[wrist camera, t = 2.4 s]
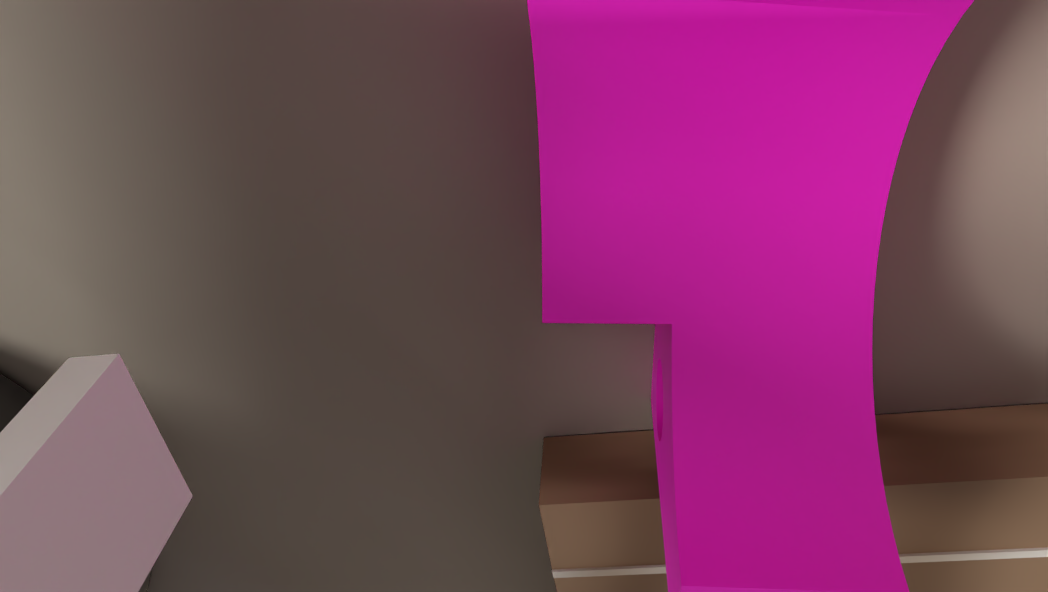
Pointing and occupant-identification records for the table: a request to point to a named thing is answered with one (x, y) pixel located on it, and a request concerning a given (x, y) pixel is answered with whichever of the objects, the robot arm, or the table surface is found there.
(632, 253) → the toy block
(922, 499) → the brown flat bar
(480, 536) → the table surface
